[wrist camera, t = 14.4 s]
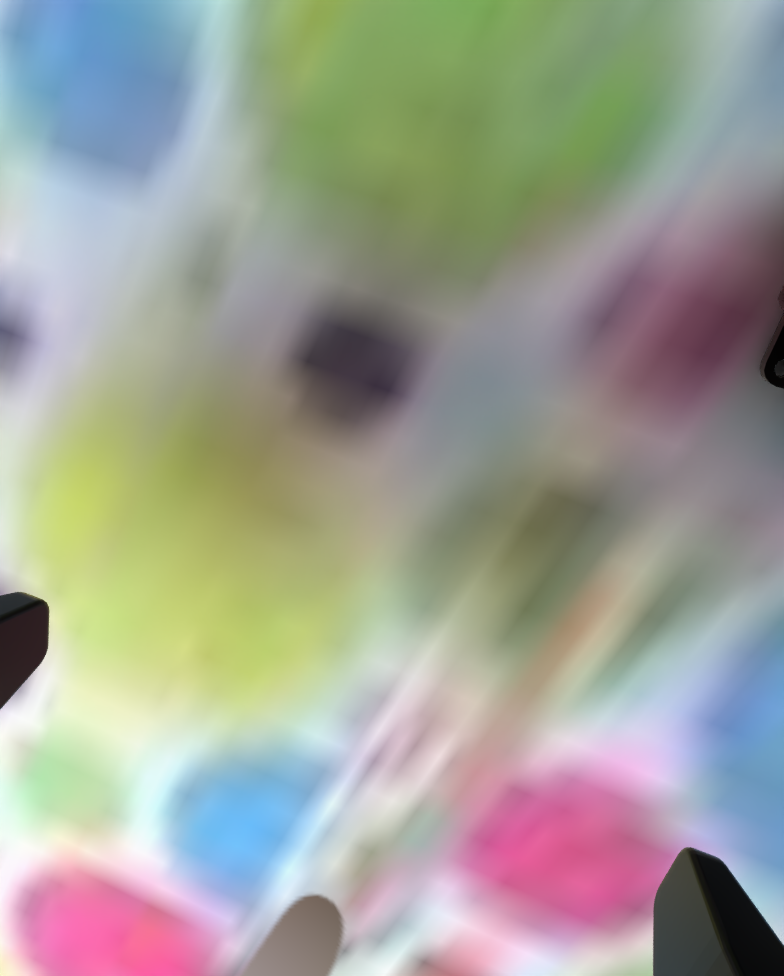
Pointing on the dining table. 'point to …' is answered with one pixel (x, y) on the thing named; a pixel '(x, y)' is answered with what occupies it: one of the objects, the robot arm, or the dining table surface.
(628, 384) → the dining table surface
